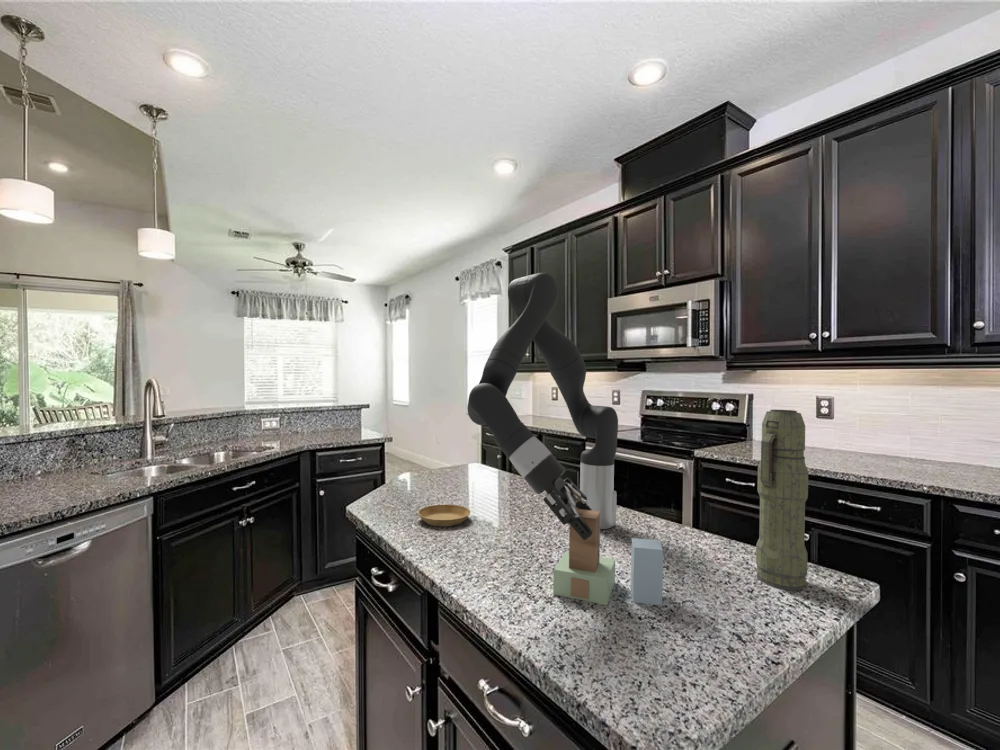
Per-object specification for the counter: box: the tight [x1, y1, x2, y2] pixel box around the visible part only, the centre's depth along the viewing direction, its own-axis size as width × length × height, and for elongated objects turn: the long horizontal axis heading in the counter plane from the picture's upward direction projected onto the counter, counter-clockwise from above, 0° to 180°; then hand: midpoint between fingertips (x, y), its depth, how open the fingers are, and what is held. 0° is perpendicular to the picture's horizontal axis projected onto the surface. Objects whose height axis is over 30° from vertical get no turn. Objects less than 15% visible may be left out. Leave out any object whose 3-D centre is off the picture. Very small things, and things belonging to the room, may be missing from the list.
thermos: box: [755, 409, 809, 591], centre depth 93 cm, size 9×12×35 cm
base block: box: [552, 550, 616, 606], centre depth 87 cm, size 10×10×5 cm
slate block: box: [630, 537, 664, 606], centre depth 84 cm, size 5×5×10 cm
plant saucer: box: [417, 504, 471, 527], centre depth 128 cm, size 15×15×3 cm
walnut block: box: [568, 509, 601, 573], centre depth 87 cm, size 5×5×10 cm
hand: (592, 529), depth 86 cm, fingers open, 8 cm apart
